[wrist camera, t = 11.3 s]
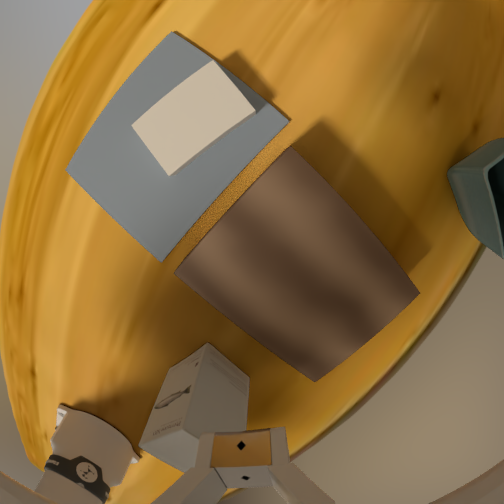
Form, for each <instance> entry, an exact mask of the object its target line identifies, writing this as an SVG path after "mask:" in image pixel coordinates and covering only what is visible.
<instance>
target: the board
mask: <svg viewBox="0 0 504 504" xmlns="http://www.w3.org/2000/svg"><path fill="white" fill-rule="evenodd" d="M174 274H175V275H176V276H177V277H179V278H180V279H181V280H182V281H183V282H184V283H186V284H187V285H188V286H189V287H190V288H191V289H193V290H194V291H195V292H196V293H197V294H199V295H200V296H201V297H202V298H204V299H205V300H206V301H207V302H208V303H210V304H211V305H212V306H213V307H215V308H216V309H217V310H218V311H220V312H221V313H222V314H223V315H225V316H226V317H227V318H228V319H230V320H231V321H232V322H233V323H235V324H236V325H237V326H238V327H240V328H241V329H242V330H244V331H245V332H246V333H248V334H249V335H250V336H251V337H253V338H254V339H255V340H257V341H258V342H259V343H261V344H262V345H263V346H265V347H266V348H267V349H269V350H270V351H271V352H273V353H274V354H276V355H277V356H278V357H280V358H281V359H282V360H284V361H285V362H287V363H288V364H289V365H291V366H292V367H294V368H295V369H296V370H298V371H299V372H301V373H302V374H304V375H305V376H306V377H308V378H309V379H311V380H312V381H314V382H316V381H317V380H319V379H320V378H322V377H323V376H324V375H326V374H327V373H328V372H330V371H331V370H332V369H334V368H335V367H336V366H338V365H339V364H340V363H342V362H343V361H344V360H345V359H347V358H348V357H349V356H351V355H352V354H353V353H354V352H356V351H357V350H358V349H359V348H360V347H362V346H363V345H364V344H365V343H367V342H368V341H369V340H370V339H371V338H372V337H374V336H375V335H376V334H377V333H378V332H379V331H380V330H382V329H383V328H384V327H385V326H386V325H387V324H388V323H389V322H391V321H392V320H393V319H394V318H395V317H396V316H397V315H398V314H399V313H400V312H401V311H402V310H403V309H405V308H406V307H407V306H408V305H409V304H410V303H411V302H412V301H413V300H414V299H415V298H416V297H417V296H418V295H419V294H420V292H419V291H418V289H417V288H416V287H415V285H414V284H413V282H412V281H411V280H410V278H409V277H408V276H407V275H406V273H405V272H404V271H403V269H402V268H401V267H400V265H399V264H398V263H397V262H396V260H395V259H394V258H393V257H392V255H391V254H390V253H389V252H388V250H387V249H386V248H385V247H384V245H383V244H382V243H381V242H380V241H379V239H378V238H377V237H376V236H375V235H374V233H373V232H372V231H371V230H370V229H369V228H368V226H367V225H366V224H365V223H364V222H363V221H362V220H361V218H360V217H359V216H358V215H357V214H356V213H355V212H354V210H353V209H352V208H351V207H350V206H349V205H348V204H347V203H346V202H345V201H344V199H343V198H342V197H341V196H340V195H339V194H338V193H337V192H336V191H335V190H334V189H333V188H332V187H331V186H330V185H329V184H328V183H327V181H326V180H325V179H324V178H323V177H322V176H321V175H320V174H319V173H318V172H317V171H316V170H315V169H314V168H313V167H312V166H311V165H310V164H309V163H308V162H307V161H306V160H305V159H304V158H303V157H302V156H301V155H299V154H298V153H297V152H296V151H295V150H294V149H293V148H292V147H291V146H290V147H288V148H287V149H285V150H284V151H283V152H282V154H281V155H280V156H279V157H278V158H277V159H276V160H275V161H274V162H273V163H272V164H271V165H270V166H269V167H268V168H267V169H266V170H265V171H264V172H263V173H262V174H261V175H260V176H259V177H258V178H257V179H256V180H255V181H254V183H253V184H252V185H251V186H250V187H249V188H248V189H247V190H246V191H245V192H244V193H243V194H242V195H241V196H240V197H239V199H238V200H237V201H236V202H235V203H234V204H233V205H232V206H231V207H230V208H229V209H228V210H227V212H226V213H225V214H224V215H223V216H222V217H221V218H220V219H219V220H218V221H217V222H216V224H215V225H214V226H213V227H212V228H211V229H210V230H209V231H208V232H207V234H206V235H205V236H204V237H203V238H202V239H201V240H200V241H199V243H198V244H197V245H196V246H195V247H194V248H193V249H192V251H191V252H190V253H189V254H188V255H187V256H186V257H185V259H184V260H183V261H182V263H181V264H180V265H179V267H178V268H177V269H176V271H175V272H174Z"/></svg>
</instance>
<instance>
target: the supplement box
mask: <svg viewBox="0 0 504 504" xmlns="http://www.w3.org/2000/svg"><path fill="white" fill-rule="evenodd" d="M249 383H250V377H248V376H247V375H246V374H245V373H244V372H242V371H241V370H240V369H239V368H238V367H236V366H235V365H234V364H233V363H232V362H231V361H229V360H228V359H227V358H226V357H225V356H224V355H223V354H221V353H220V352H219V351H218V350H217V349H216V348H215V347H213V346H212V345H211V344H210V343H206V344H205V345H204V346H202V347H201V348H200V349H198V350H197V351H196V352H194V353H193V354H191V355H190V356H188V357H187V358H185V359H184V360H182V361H181V362H179V363H178V364H176V365H174V366H173V367H171V368H170V369H169V370H168V373H167V375H166V378H165V380H164V382H163V385H162V387H161V390H160V392H159V394H158V397H157V399H156V402H155V404H154V407H153V409H152V412H151V414H150V417H149V419H148V422H147V425H146V427H145V430H144V432H143V435H142V437H141V440H140V443H139V445H138V446H139V447H140V448H142V449H143V450H145V451H146V452H148V453H150V454H151V455H153V456H155V457H156V458H158V459H160V460H161V461H163V462H165V463H167V464H169V465H171V466H172V467H174V468H176V469H178V470H180V471H182V472H184V473H185V472H186V471H188V470H189V469H190V468H191V467H195V462H196V456H197V451H198V445H199V439H200V435H201V433H202V432H239V431H246V426H247V413H248V398H249Z"/></svg>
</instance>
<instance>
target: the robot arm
mask: <svg viewBox="0 0 504 504" xmlns="http://www.w3.org/2000/svg"><path fill="white" fill-rule="evenodd" d="M55 429H56V431H55V433H54V434H53V436H52V438H51V440H50V441H51V446H52V449H53V455H50V457H49V459H48V460H47V461H46V465H45V467H44V469H45V472H44V474H43V476H42V478H41V480H40V482H39V483H38V485H37V487H36V489H35V491H33V490H31V489H29V488H27V487H25V486H24V485H22V484H20V483H19V482H17V481H15V480H14V479H12V478H11V477H9V476H7V475H6V474H4V473H3V472H1V471H0V504H105V502H106V500H107V499H108V497H109V492H110V487H112V486H117V485H120V484H121V483H122V480H123V478H124V476H125V474H126V472H127V469H128V467H129V465H130V464H132V463H138V462H139V460H140V458H139V457H138V455H137V454H136V453H135V452H134V451H133V448H132V446H131V444H130V442H129V441H128V440H127V439H126V438H125V437H124V436H123V435H122V434H121V433H120V432H119V431H118V430H116V429H115V428H114V427H112V426H111V425H109V424H108V423H106V422H104V421H103V420H101V419H99V418H97V417H95V416H93V415H91V414H88V413H85V412H82V411H77V410H72V409H70V408H68V407H66V406H63V405H59V406H58V408H57V422H56V428H55ZM268 486H273V487H274V488H275V489H276V490H277V492H278V493H279V494H280V495H281V496H282V498H283V499H284V500H285V501H286V502H287V503H288V504H335V501H334V500H333V499H331V497H329V496H328V495H327V494H326V493H325V492H324V491H322V490H321V489H320V488H319V487H318V486H317V485H316V484H315V483H314V482H313V481H311V480H310V479H309V478H308V477H307V476H306V475H305V474H304V473H303V472H302V471H301V470H300V469H299V468H298V467H297V466H296V465H295V464H293V463H290V458H289V450H288V443H287V437H286V430H285V427H278V428H271V429H270V428H267V429H258V430H247V431H239V432H202V433H201V435H200V439H199V445H198V451H197V456H196V462H195V467H191V468H190V469H189V470H188V471H186V472H185V473H184V474H183V475H182V476H181V477H180V478H179V479H178V480H177V481H176V482H175V483H174V484H173V485H172V486H170V487H169V488H168V489H167V490H166V491H165V492H164V493H163V494H162V495H160V496H159V497H158V498H157V499H156V500H155V501H153V502H152V503H151V504H216V503H217V502H218V501H219V500H220V498H221V497H222V496H223V494H224V493H225V492H226V491H227V488H246V487H268ZM429 504H504V460H502V461H501V462H500V463H498V464H497V465H495V466H494V467H492V468H491V469H489V470H488V471H487V472H485V473H483V474H482V475H480V476H479V477H477V478H475V479H474V480H472V481H471V482H469V483H467V484H465V485H464V486H462V487H460V488H458V489H457V490H455V491H453V492H451V493H449V494H447V495H445V496H443V497H441V498H439V499H437V500H435V501H433V502H431V503H429Z"/></svg>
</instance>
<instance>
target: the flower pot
mask: <svg viewBox="0 0 504 504" xmlns="http://www.w3.org/2000/svg"><path fill="white" fill-rule="evenodd" d="M447 177H448V180H449V182H450V185H451V188H452V191H453V193H454V196H455V199H456V202H457V205H458V209H459V211H460V214H461V216H462V218H463V220H464V222H465V224H466V226H467V227H468V229H469V230H470V232H471V233H472V234H473V235H474V236H475V237H476V238H477V239H478V240H479V241H480V242H482V243H483V244H484V245H485V246H487V247H488V248H489V249H491V250H492V251H493V252H495V253H496V254H497V255H498V256H500V257H501V258H502V259H504V138H500V139H496V140H493V141H490V142H488V143H486V144H485V145H483V146H482V147H480V148H479V149H477V150H476V151H474V152H473V153H472V154H470V155H469V156H467V157H466V158H464V159H463V160H462V161H460V162H459V163H457V164H456V165H454V166H452V167H451V168H450V169H449V170H448V172H447Z"/></svg>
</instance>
